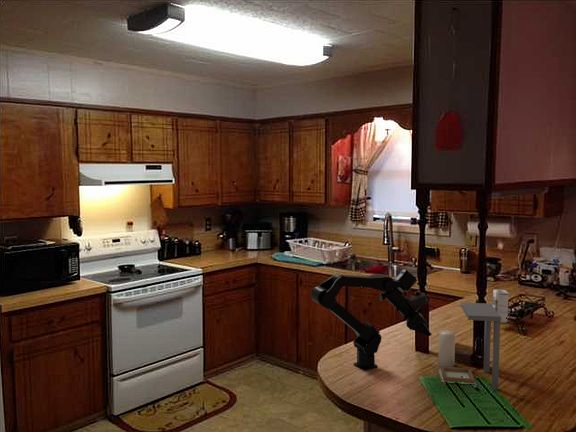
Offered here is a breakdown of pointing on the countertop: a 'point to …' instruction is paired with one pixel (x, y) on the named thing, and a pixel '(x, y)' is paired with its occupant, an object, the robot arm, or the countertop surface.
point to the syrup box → (501, 303)
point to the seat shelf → (485, 314)
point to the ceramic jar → (446, 348)
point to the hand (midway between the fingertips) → (429, 331)
